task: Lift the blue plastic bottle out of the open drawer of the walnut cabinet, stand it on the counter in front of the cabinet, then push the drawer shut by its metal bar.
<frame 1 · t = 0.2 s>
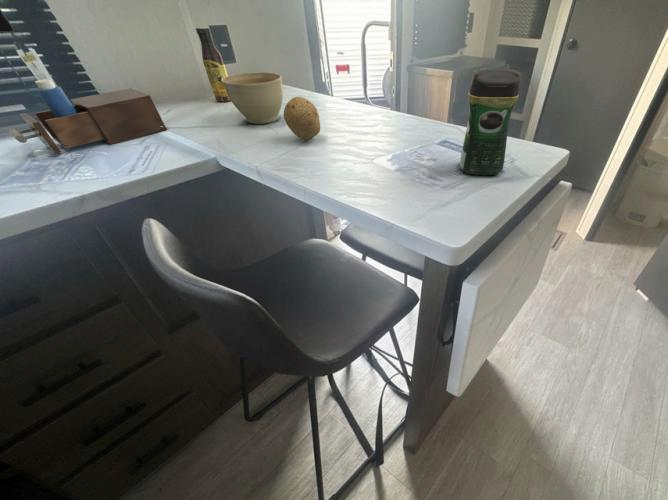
planter bowl: (264, 120, 97), on the countertop
drawer: (60, 128, 79), point 4 cm above the countertop, slide at 10.0 cm, touching bottle
bottle: (80, 135, 82), point 2 cm above the countertop, touching drawer
sauce bottle: (226, 100, 113), on the countertop
cabinet: (130, 132, 90), on the countertop
potato: (307, 140, 85), on the countertop
coffee jar: (479, 169, 71), on the countertop
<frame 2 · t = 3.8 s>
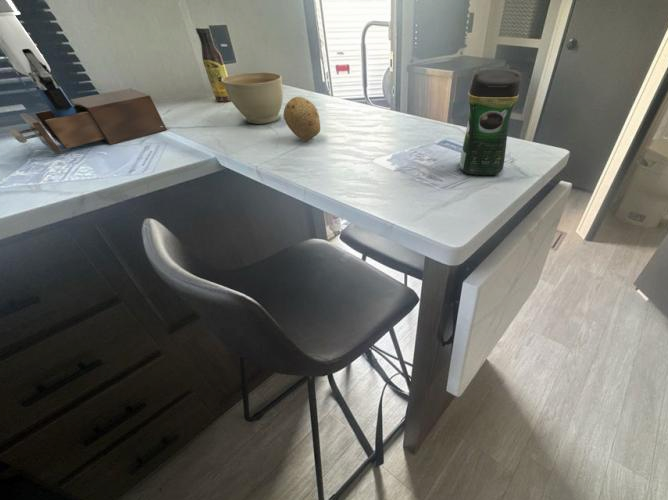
hand: (60, 105, 77), 9 cm above the countertop, tool pointing down, fingers closed on bottle, 4 cm apart
bottle: (80, 135, 82), point 2 cm above the countertop, touching drawer, gripper
everything else where it was.
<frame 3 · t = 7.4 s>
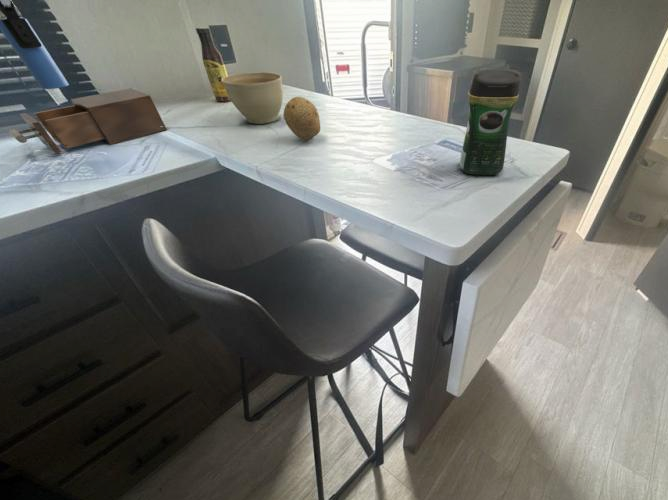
hand: (27, 45, 61), 22 cm above the countertop, tool pointing down, fingers closed on bottle, 4 cm apart
drawer: (60, 128, 79), point 4 cm above the countertop, slide at 10.0 cm
bottle: (55, 86, 65), point 15 cm above the countertop, touching gripper
everything else where it was.
when the fingers open (7 cm above the countertop, at t = 11.1 s): bottle stays where it is, on the countertop.
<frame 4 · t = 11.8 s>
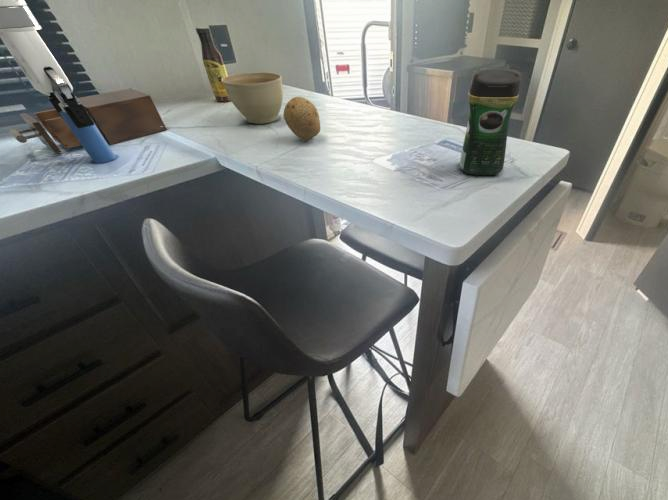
hand: (78, 121, 70), 8 cm above the countertop, tool pointing down, fingers open, 9 cm apart
bottle: (104, 159, 76), on the countertop
everything else where it was.
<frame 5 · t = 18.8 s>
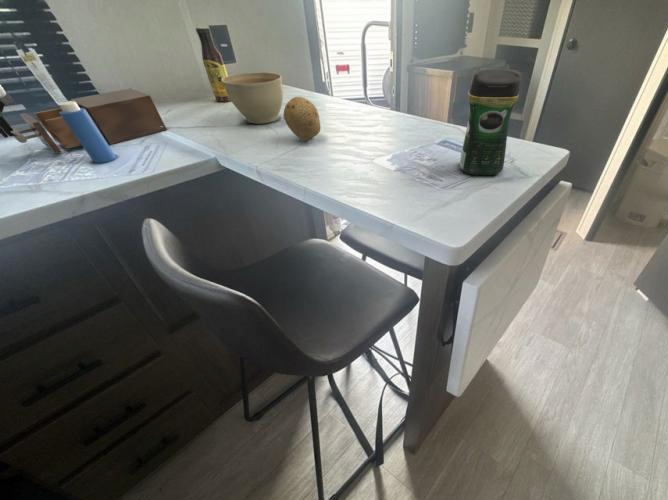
hand: (8, 135, 73), 5 cm above the countertop, tool pointing down, fingers closed
drawer: (60, 128, 79), point 4 cm above the countertop, slide at 10.0 cm, touching gripper
everything else where it was.
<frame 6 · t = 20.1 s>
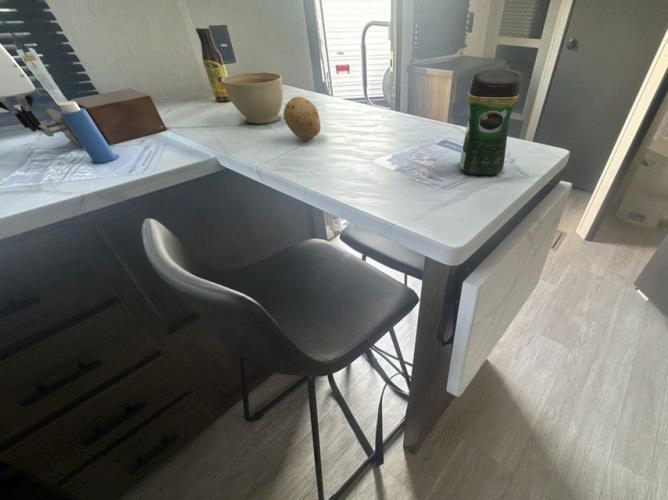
hand: (35, 129, 76), 5 cm above the countertop, tool pointing down, fingers closed
drawer: (84, 123, 82), point 4 cm above the countertop, slide at 4.8 cm, touching gripper
everything else where it was.
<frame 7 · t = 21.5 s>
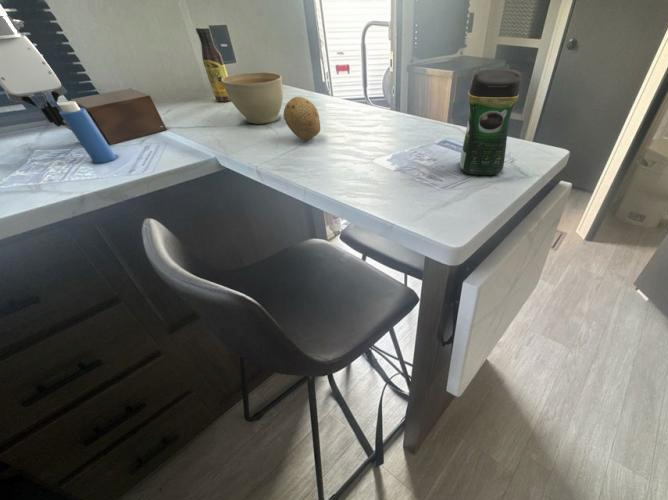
hand: (60, 124, 78), 5 cm above the countertop, tool pointing down, fingers closed
drawer: (105, 118, 84), point 4 cm above the countertop, slide at 0.0 cm, touching cabinet, gripper
everything else where it was.
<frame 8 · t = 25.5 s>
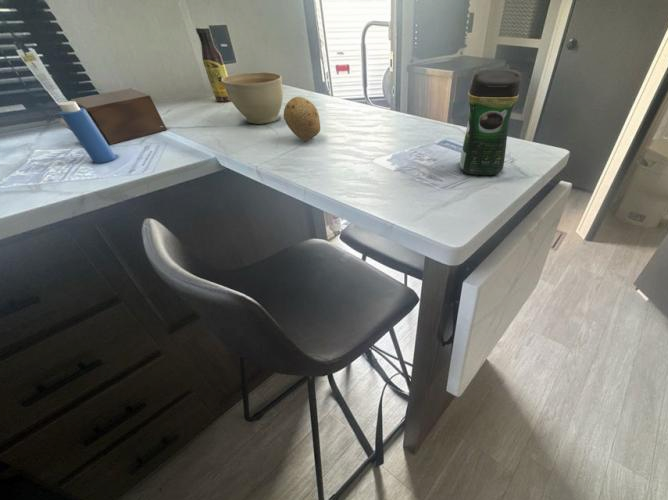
drawer: (105, 118, 84), point 4 cm above the countertop, slide at 0.0 cm, touching cabinet
everything else where it was.
at the end: bottle inside the target area (0.1 cm from its centre), on the countertop; bottle tilted 0°; drawer slide at 0.0 cm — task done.
